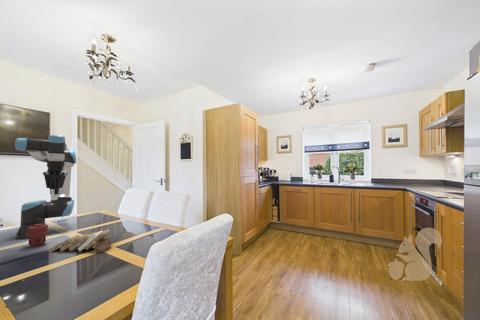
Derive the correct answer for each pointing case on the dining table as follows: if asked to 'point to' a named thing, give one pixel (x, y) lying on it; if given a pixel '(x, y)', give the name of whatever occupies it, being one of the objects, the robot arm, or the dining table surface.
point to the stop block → (102, 244)
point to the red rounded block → (37, 234)
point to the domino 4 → (88, 241)
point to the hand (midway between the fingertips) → (54, 199)
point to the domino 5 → (97, 239)
